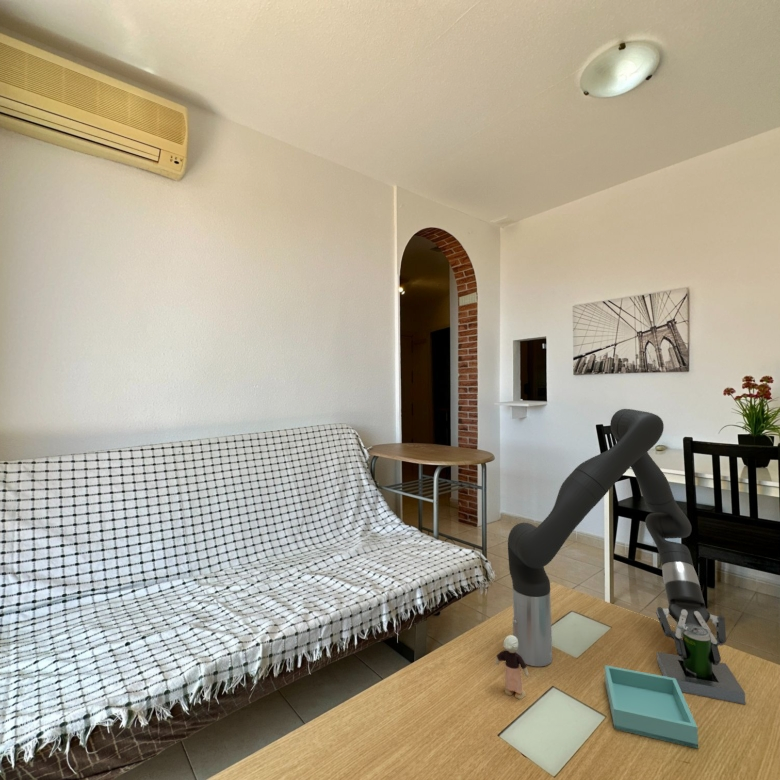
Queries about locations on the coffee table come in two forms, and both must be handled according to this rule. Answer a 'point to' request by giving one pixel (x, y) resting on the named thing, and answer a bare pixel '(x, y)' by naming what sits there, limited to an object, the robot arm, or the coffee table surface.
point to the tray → (650, 706)
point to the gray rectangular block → (719, 688)
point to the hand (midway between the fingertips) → (699, 661)
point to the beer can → (697, 652)
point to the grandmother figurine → (512, 667)
